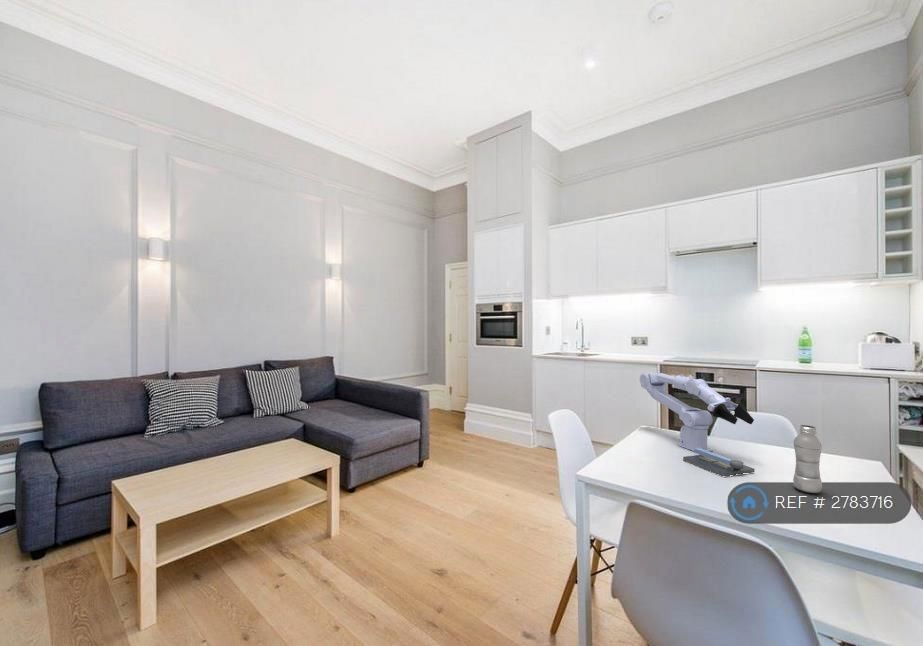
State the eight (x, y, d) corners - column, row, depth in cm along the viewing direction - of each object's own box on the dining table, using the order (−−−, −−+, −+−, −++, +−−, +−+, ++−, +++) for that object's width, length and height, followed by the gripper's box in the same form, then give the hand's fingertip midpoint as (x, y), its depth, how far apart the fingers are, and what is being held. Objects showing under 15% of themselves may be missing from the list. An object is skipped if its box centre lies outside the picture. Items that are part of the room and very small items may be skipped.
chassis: (683, 460, 142) (683, 455, 142) (711, 457, 146) (711, 452, 146) (724, 477, 127) (724, 471, 127) (754, 473, 131) (754, 467, 131)
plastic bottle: (827, 497, 113) (828, 430, 113) (801, 494, 114) (802, 428, 114) (812, 487, 119) (813, 424, 119) (787, 485, 121) (788, 423, 121)
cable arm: (745, 468, 129) (745, 463, 129) (738, 469, 128) (738, 464, 128) (700, 451, 145) (700, 447, 145) (692, 452, 144) (692, 447, 144)
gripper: (703, 390, 145) (733, 412, 133) (732, 391, 149) (764, 413, 137) (695, 405, 148) (724, 428, 136) (724, 406, 151) (755, 428, 139)
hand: (744, 421), depth 136 cm, fingers open, 7 cm apart
